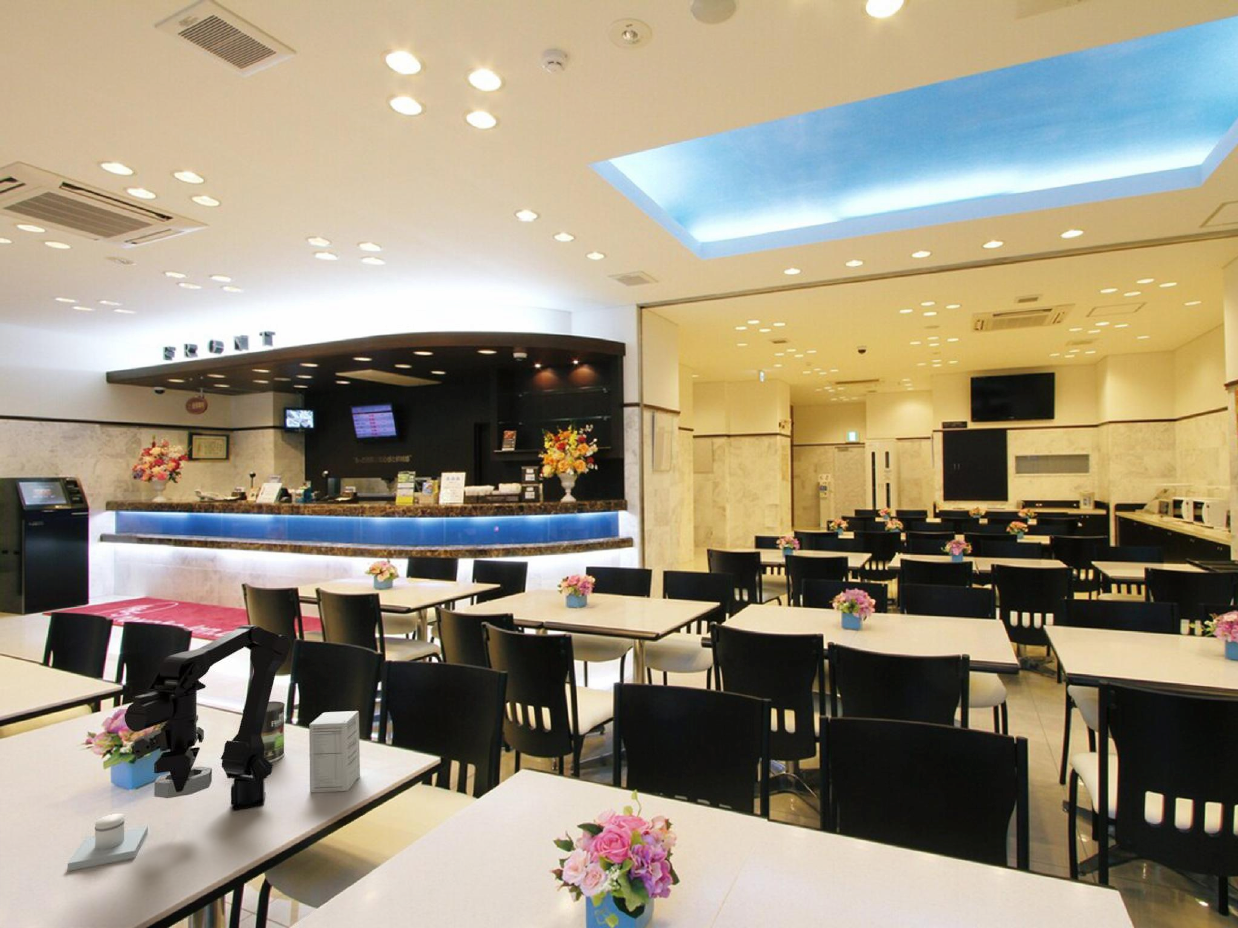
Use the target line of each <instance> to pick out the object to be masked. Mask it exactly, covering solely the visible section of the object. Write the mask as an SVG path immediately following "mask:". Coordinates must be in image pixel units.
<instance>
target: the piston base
mask: <svg viewBox="0 0 1238 928" xmlns="http://www.w3.org/2000/svg"><path fill="white" fill-rule="evenodd" d="M94 823H95V824H94V825H95V826H94V835H91V836H86V837H85V838H84V839H83V841H82V842H81V843H80V845H79V846H78V848H77V849H76V851H75V852H74V853H73V855H72V857H71V858H70V860H69V861H68V863H67V872H71V871H76V870H81V869H86V868H91V867H97V866H101V865H106V864H110V863H117V862H121V861H122V862H123V861H127V860H132V859H135V858H136V856H137V854H138V853H139V851H140V849H141V847H142V845H143V843H144V841H145V839H146V837H147V835H148V834H149V833H148V832H149V831H148V827H149V826H148V825H146V826H140V827H135V828H129V829H125V815H124V814H123V813H113V814H109V815H106V816H103V817H100V818H99V819H97V820H96V821H95V822H94Z"/></svg>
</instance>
